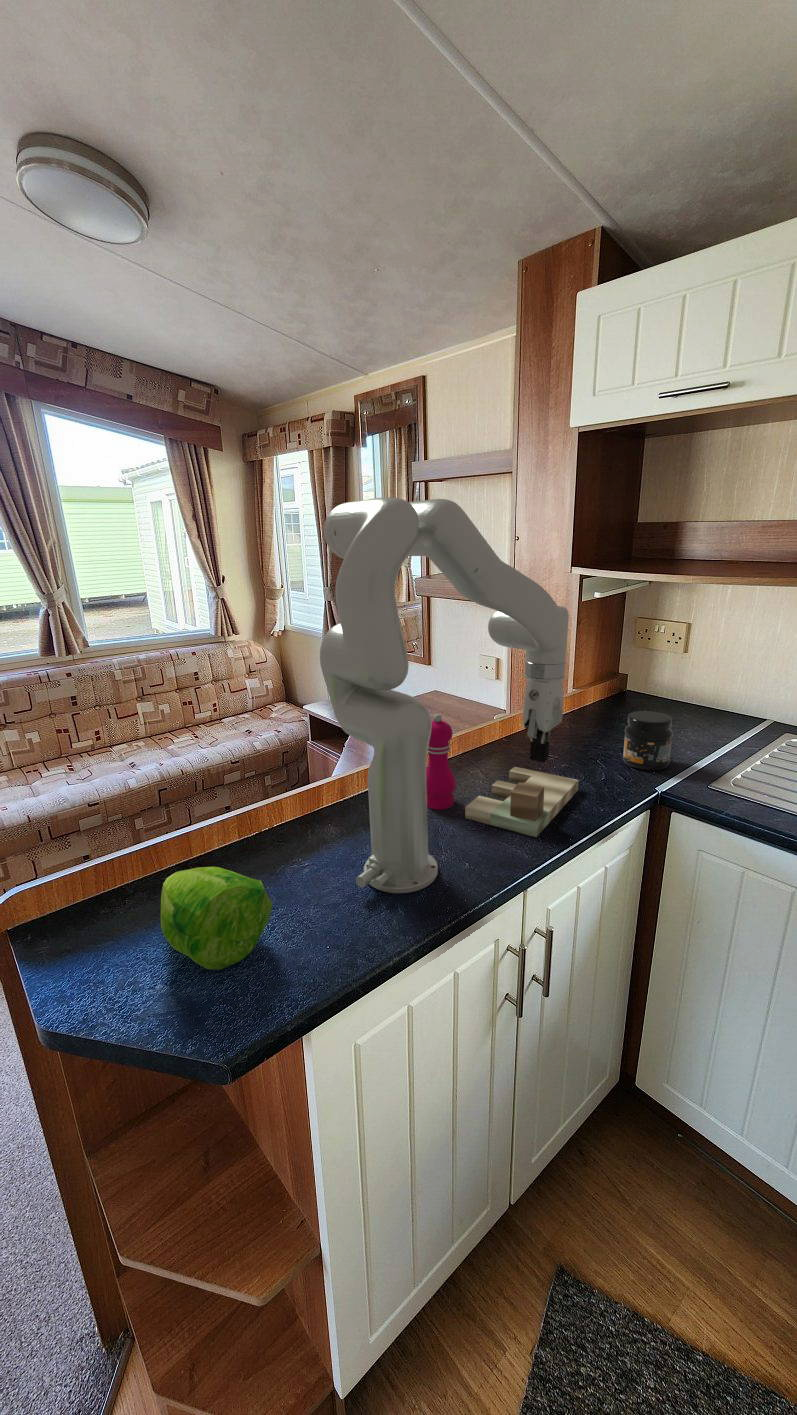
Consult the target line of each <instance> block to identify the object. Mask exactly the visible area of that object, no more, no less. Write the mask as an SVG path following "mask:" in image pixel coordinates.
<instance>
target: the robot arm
mask: <svg viewBox="0 0 797 1415" xmlns="http://www.w3.org/2000/svg"><path fill="white" fill-rule="evenodd" d="M323 525H324V527H323V534H324V536H323V537H324V540H325V543H326V544H327V547H329V550H330V551H331V552H332V553H333V554H334V555H336V556H337V557H339V558H340V559H343V560H342V563H341V564H340V568H339V571H338V574H337V577H336V582H335V590H334V591H335V594H334V595H335V603H336V608H337V612H338V616H339V623H337V624H335V625H334V626H332V627H330V629H328V631H327V632H326V633H325V635H324V636H323V638H322V641H321V645H320V649H319V662H320V669H321V672H322V676H323V679H324V683H325V685H326V686H325V687H326V690H327V693H328V696H329V699H330V703H331V705H332V710H333V713H334V716H335V718H336V721H337V723H338V724H339V726H340V728H341V730H343V732H345V733H346V734H347V735H349V737H350V736H351V737H352V738H354V739H356V740H357V741H361V742H363V743H365V744H367V745H369V746H370V747H372V748H373V755H372V760H371V762H370V765H369V767H368V772H367V791H368V807H369V808H368V809H369V825H370V827H369V829H370V845H371V855H370V856H369V857H368V859H367V860H366V861H365V864H364V865H363V872H362V873H360V874H359V875H358V876H356V878H355V883H356V885H357V886H358V887H359V888H365V887H366V886H367V885H370V887H373V888H375V889H376V890H379V891H380V892H381V891H382V892H384V893H390V894H408V893H413V892H417V891H421V890H422V889H425V888H426V887H429V886H430V885H431V884H433V882H435V880H436V878H437V876H438V873H439V872H438V871H439V870H438V868H439V867H438V862H437V860H436V859H435V858H434V856H432V855H431V854H429V837H428V836H429V835H428V834H429V833H428V832H429V829H428V827H429V826H428V807H427V786H426V769H427V765H428V764H427V758H428V746H429V741H430V736H431V727H432V724H431V721H432V717H431V714H430V712H429V711H428V710H429V709H428V708H427V707H426V706H425V705H424V704H423V702H421V701H420V699H419V700H418V699H417V698H415V697H414V696H412V695H409V694H407V693H403V692H400V691H397V690H394V689H396V688H398V687H399V686H401V685H402V684H403V683H404V682H405V680H406V678H407V677H408V673H409V665H410V664H409V656H408V652H407V651H408V650H407V646H406V641H405V637H404V632H403V629H402V624H401V620H400V615H399V611H398V607H397V606H398V605H397V599H396V583H397V579H398V576H399V573H400V570H401V568H402V566H403V565H404V562H405V561H406V559H407V558H408V557H426V558H428V559H429V560H430V561H431V562H432V563H433V565H434V566H436V568H438V570H439V571H440V572H441V573H442V575H443V576H444V577H445V578H446V579H447V581H448V582H450V584H451V585H452V587H453V588H454V589H455V590H456V591H457V592H458V594H459V595H461V596H462V597H463V598H465V599H467V600H469V601H471V602H473V603H475V604H478V605H480V606H482V607H485V608H488V609H492V610H494V611H495V612H494V613H493V614H492V615H491V616H490V619H489V620H488V625H487V630H488V634H489V636H490V638H491V640H492V641H493V642H494V643H496V645H497V644H498V645H499V646H501V647H502V646H503V647H505V648H511V649H516V650H525V662H524V676H523V678H525V679H526V685H525V690H524V698H523V699H524V700H523V709H522V726H523V728H524V729H525V730H527V736H526V737H527V738H529V739H530V753H529V760H530V761H533V762H539V763H546V761H548V759H549V750H550V749H549V748H550V738H551V733H552V732H551V731H552V729H554V728H556V726H559V725H560V724H561V723H562V722H563V717H564V716H563V714H564V680H565V674H566V660H567V647H568V633H569V632H568V631H569V618H570V616H569V615H570V613H569V611H568V609H567V608H566V607H564V606H560V605H557V602H555V599H553V597H552V596H551V594H550V593H549V592H548V591H546V589H544V588H543V587H542V586H541V584H539V583H537V582H536V581H535V580H533V579H532V578H531V577H528V576H527V575H525V574H523V573H522V572H521V571H519V570H517V569H516V568H515V567H513V566H511V565H510V564H508V563H506V562H504V561H503V560H502V559H501V558H500V557H499V556H498V555H497V554H496V551H494V550H493V548H492V547H491V545H490V544H489V542H488V541H487V540H486V538H485V537H484V536H483V534H481V531H479V529H478V527H476V524H474V523H473V521H472V520H471V519H470V517H469V516H468V515H467V513H466V512H465V510H464V509H463V508H462V507H461V506H460V505H459V504H458V503H457V502H454V501H453V500H450V499H447V498H436V499H434V498H433V499H426V500H417V501H408V500H405V499H402V498H400V497H394V496H392V497H391V496H390V497H389V496H388V497H387V496H386V497H375V498H369V499H364V500H363V499H362V500H355V501H349V502H343V503H341V504H339V505H337V506H335V507H334V508H333V509H332V510H331V511H330V512H329V513H328V515H327V516H326V519H325V522H324V524H323Z"/></svg>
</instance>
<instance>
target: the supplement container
mask: <svg viewBox="0 0 797 1415" xmlns="http://www.w3.org/2000/svg"><path fill="white" fill-rule="evenodd" d="M672 721H673V719H672V717H671V716H670V715H668V714H665V713H662V712H657V711H648V710H647V711H646V710H640V711H633V712H631V713H629V714H628V715H627V725H626V726H625V727H624V743H623V753H622V754H623V755H622V759H623V762H624V763H625V764H626V765H627V766H629V767H631V768H634V769H636V770H641V771H649V772H654V771H655V772H656V771H661V770H664V769H666V768H667V767H668V766H669V765H670V763H671V762H670V761H671V760H670V757H671V749H672V740H673V737H674V736H673V735H674V732H673V730H672V729H671V727H672V723H673V722H672Z"/></svg>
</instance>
